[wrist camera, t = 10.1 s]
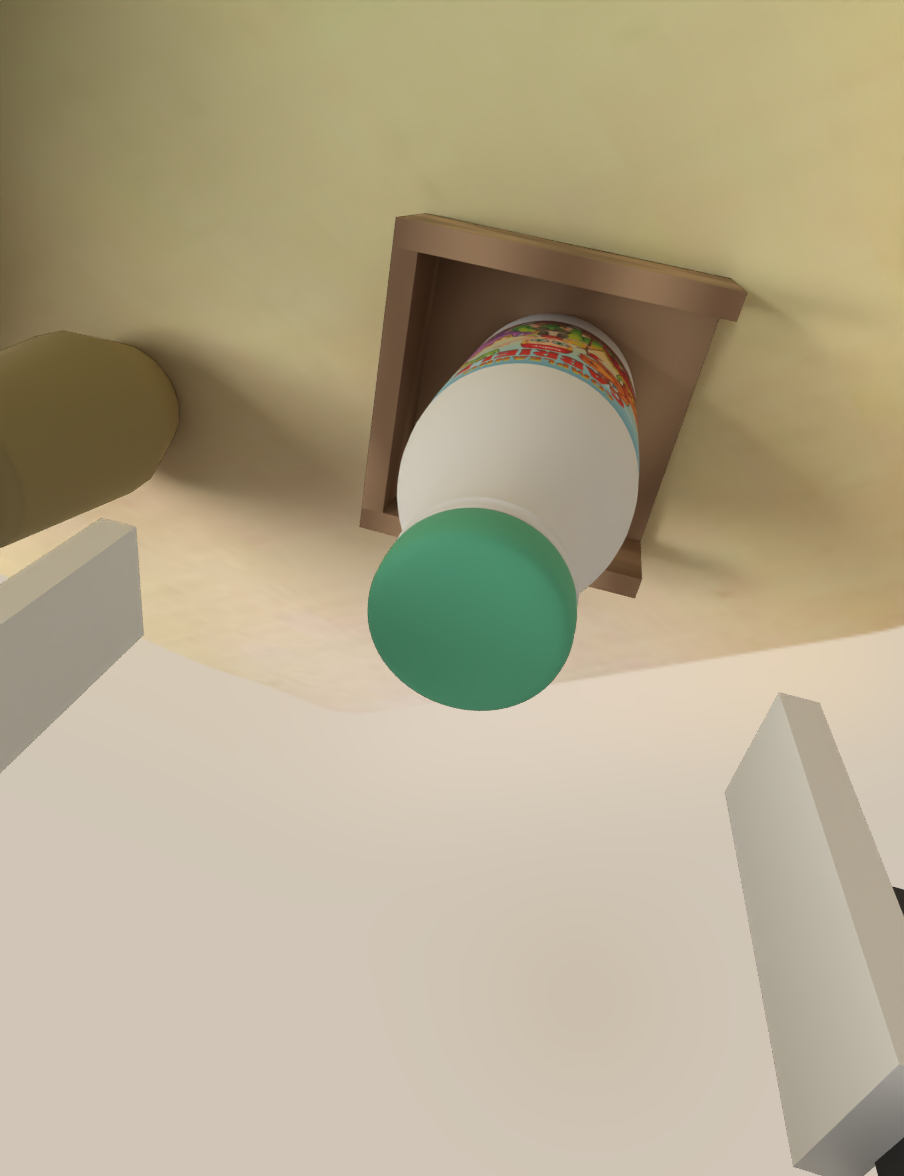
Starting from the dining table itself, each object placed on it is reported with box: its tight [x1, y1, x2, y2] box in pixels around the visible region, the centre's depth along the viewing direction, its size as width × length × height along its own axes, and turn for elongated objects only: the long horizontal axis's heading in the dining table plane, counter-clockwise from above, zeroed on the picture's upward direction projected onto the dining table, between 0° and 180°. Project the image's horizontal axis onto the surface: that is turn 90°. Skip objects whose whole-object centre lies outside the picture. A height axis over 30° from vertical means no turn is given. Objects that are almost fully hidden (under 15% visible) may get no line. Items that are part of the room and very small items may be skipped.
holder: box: [360, 213, 747, 598], centre depth 31 cm, size 13×13×5 cm
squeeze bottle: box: [0, 331, 179, 548], centre depth 30 cm, size 8×8×18 cm
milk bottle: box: [368, 313, 639, 711], centre depth 24 cm, size 8×8×20 cm
